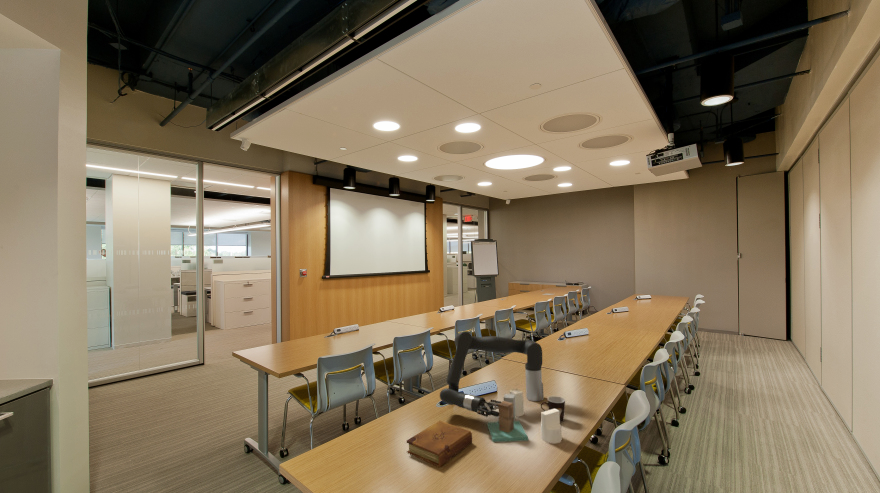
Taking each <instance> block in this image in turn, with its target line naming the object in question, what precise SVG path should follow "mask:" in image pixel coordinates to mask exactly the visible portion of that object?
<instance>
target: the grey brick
mask: <svg viewBox="0 0 880 493" xmlns="http://www.w3.org/2000/svg"><path fill="white" fill-rule="evenodd" d="M503 395H504V396H503V401H506V402H510V403H513V418H514V421H516V417H515V395H512V394H510V393H505V394H503Z"/></svg>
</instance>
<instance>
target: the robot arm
mask: <svg viewBox="0 0 880 493" xmlns="http://www.w3.org/2000/svg"><path fill="white" fill-rule="evenodd" d="M454 345H455V347H456V351H455V354H454V357H453V358H452V359H453V360H452V361H451V363H450V366H449V370H448V373H447V376H446V384H447V385H448V387H447V388H446V387H445V388H443V389H442V390H440V392H439V398H440V400H441V401H442V402H444V403H445V404H447V405H450V406H453V405H455V406H457V407H458V408H462V409H466V410H467V411H471V412H474V413H477V415H480V416H484V417H486V418H488V417H490V416H492V417H495V418H496V417H497V418H499V411H496V410H499V404H500V403H501V402H502V401H500V400H496V399H490V401H487V400H486V399H485V398H484V397H483V396H482V397H481V396H479V395H474V394H468V393H465V392H460V391H459V390H460V387H459V386H460V381H461V377H462V372H463V369H464V364H465V361H466V358H467V354H468V352H469V350H479V351H483V352H489V353H494V354H510V353H518V354H523V355H526V363H525V364H524V367H525V370H524V372H525V373H524V374H525V390H526V392H525V396H526V400H528V401H531V402H540V401H543V400H545V399H544V398H545V397H544V395H545V394H544V382H543V378H542V376H543V375H542V366H543V347H542V346H541V344H539V343H538V342H536V341H534V340H532V339H530V340H529V339H527V340H526V339H524V340H523V339H522V340H521V339H513V338H509V337H501V336H495V335H490V336H488V335H487V336H472V334H471V333H470V332H469V331H460V332H459V333H457V335H456V336H455V338H454Z"/></svg>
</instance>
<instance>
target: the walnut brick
mask: <svg viewBox="0 0 880 493" xmlns="http://www.w3.org/2000/svg"><path fill="white" fill-rule="evenodd" d="M498 412H499V416H498V422H499V430H501V431H504V432H508V433H509V432H511V431H512V430H513V429H514V418H513V403H510V402H506V401H504V400H503V401H501V403H500V404H499V409H498Z"/></svg>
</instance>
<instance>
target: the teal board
mask: <svg viewBox="0 0 880 493" xmlns="http://www.w3.org/2000/svg"><path fill="white" fill-rule="evenodd" d="M486 424H487V429H488V431H489V434H490V437H491V441H492V442H493V443H496V442H497V443H500V442H501V441H502V442H520V441H521V442H523V441H529V438H528V434H527V433H526V431H525V429H524V427H523V425H522V423H521V422H520V421H519V420H515V421H514V429H513V430H512V431H511V432H509V433H508V432H504V431H501V430H499V421H489V422H487V423H486Z"/></svg>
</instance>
